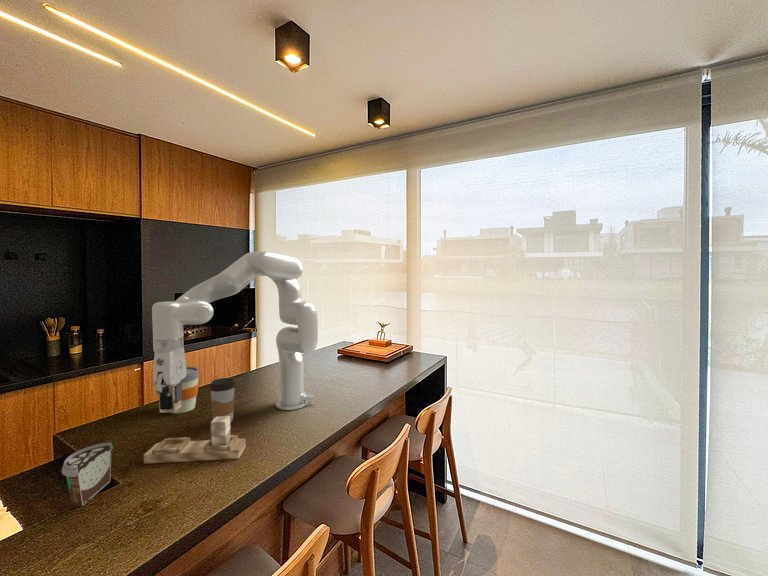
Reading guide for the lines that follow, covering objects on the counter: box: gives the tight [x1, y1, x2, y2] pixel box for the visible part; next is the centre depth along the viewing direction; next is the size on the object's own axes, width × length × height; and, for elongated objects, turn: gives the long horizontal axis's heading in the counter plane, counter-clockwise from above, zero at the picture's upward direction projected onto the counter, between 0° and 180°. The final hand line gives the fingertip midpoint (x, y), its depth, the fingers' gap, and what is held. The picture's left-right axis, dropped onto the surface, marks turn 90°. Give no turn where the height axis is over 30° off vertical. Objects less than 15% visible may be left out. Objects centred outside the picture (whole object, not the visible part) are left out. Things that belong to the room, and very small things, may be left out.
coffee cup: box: [209, 377, 236, 424], centre depth 125 cm, size 8×8×15 cm
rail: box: [143, 416, 247, 465], centre depth 103 cm, size 26×7×10 cm, turn 96°
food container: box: [61, 441, 114, 507], centre depth 85 cm, size 12×6×10 cm, turn 5°
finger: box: [158, 381, 182, 413], centre depth 102 cm, size 5×4×8 cm
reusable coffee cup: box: [169, 366, 200, 414], centre depth 137 cm, size 13×13×15 cm
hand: (170, 405), depth 102 cm, fingers closed on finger, 4 cm apart
